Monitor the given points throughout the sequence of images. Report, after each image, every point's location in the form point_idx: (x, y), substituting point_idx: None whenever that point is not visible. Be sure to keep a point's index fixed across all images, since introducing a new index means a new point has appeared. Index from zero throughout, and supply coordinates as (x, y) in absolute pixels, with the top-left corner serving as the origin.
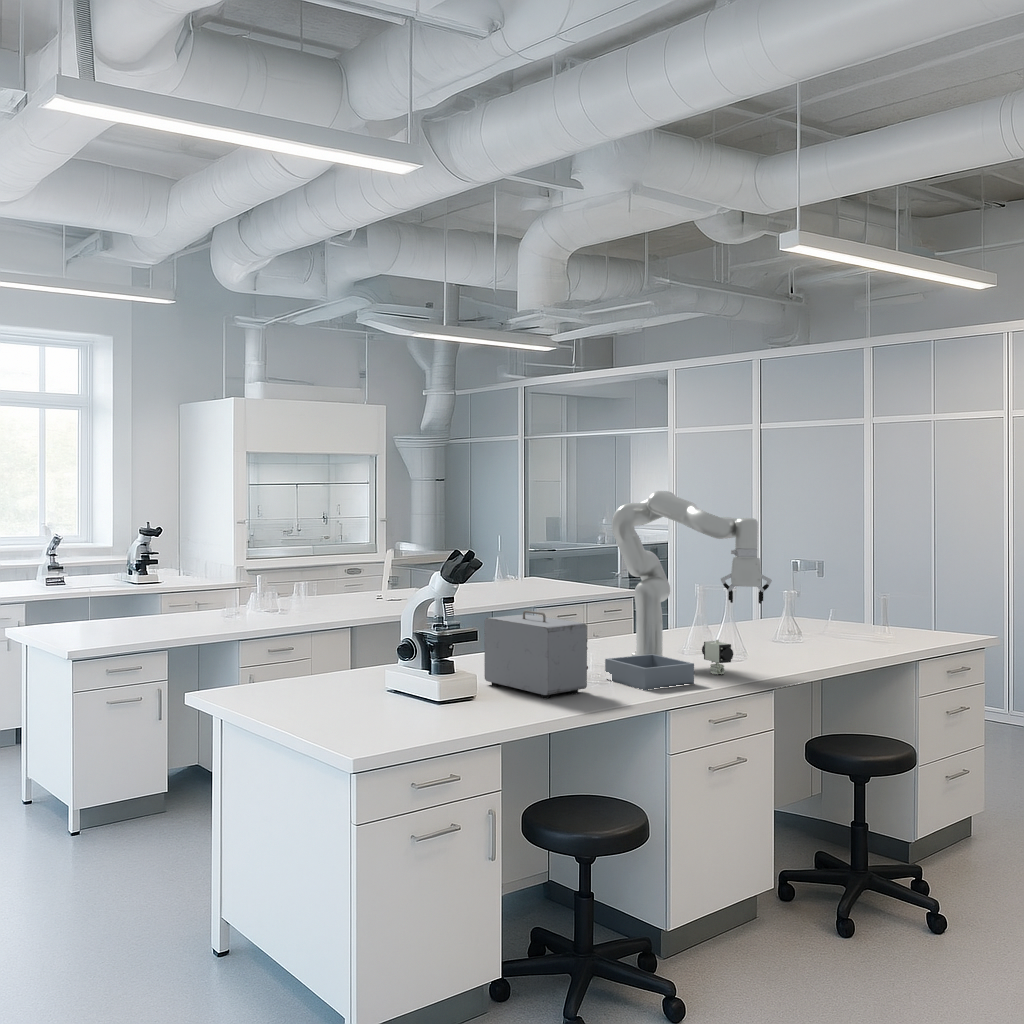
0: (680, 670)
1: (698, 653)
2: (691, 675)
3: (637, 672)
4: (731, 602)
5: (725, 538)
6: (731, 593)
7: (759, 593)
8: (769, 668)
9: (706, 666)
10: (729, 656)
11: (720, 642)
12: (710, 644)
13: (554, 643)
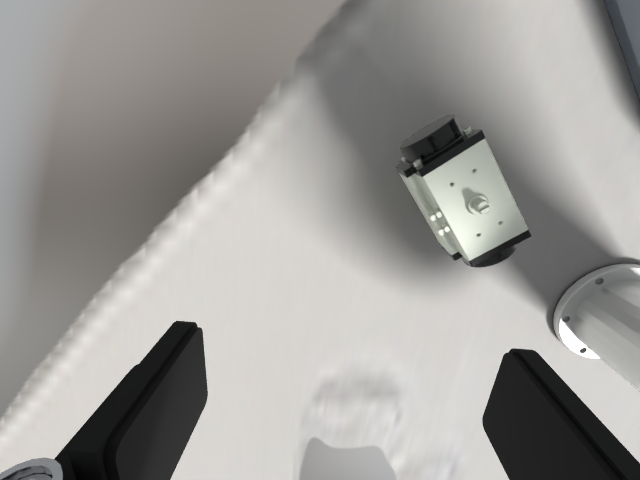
0: None
1: (413, 470)
2: None
3: None
4: (523, 349)
5: None
6: (625, 461)
7: (121, 432)
8: (254, 294)
9: (433, 308)
10: (417, 134)
11: (456, 222)
12: (509, 193)
13: None
